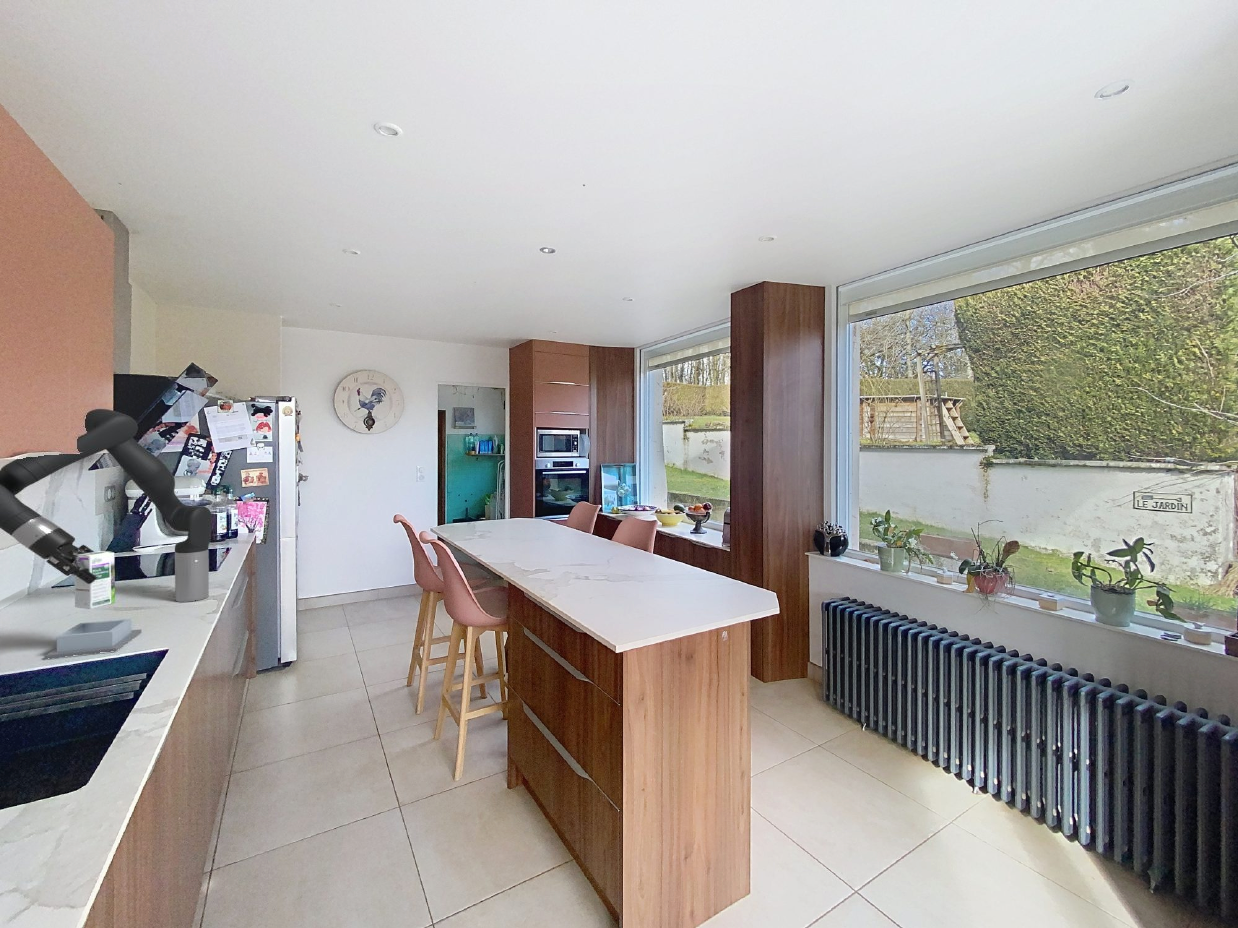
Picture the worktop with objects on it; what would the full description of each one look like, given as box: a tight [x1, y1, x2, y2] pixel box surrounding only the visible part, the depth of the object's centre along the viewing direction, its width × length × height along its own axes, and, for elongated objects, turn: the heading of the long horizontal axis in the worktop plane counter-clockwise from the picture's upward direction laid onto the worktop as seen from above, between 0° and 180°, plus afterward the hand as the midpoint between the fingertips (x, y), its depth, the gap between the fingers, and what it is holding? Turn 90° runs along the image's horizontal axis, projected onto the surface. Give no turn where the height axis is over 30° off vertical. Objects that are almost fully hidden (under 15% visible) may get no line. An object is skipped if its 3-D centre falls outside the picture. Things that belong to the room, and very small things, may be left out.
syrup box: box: [73, 550, 116, 610], centre depth 140 cm, size 6×6×14 cm
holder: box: [43, 618, 142, 660], centre depth 141 cm, size 15×14×5 cm
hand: (101, 577), depth 141 cm, fingers closed on syrup box, 7 cm apart
